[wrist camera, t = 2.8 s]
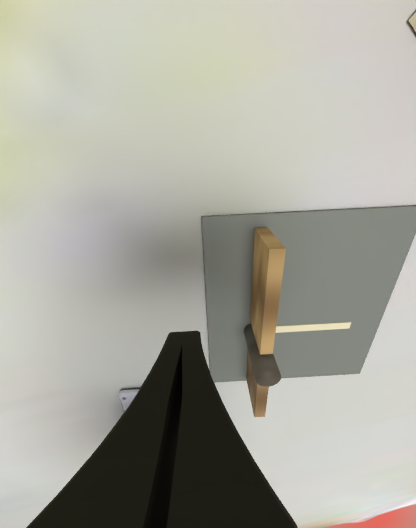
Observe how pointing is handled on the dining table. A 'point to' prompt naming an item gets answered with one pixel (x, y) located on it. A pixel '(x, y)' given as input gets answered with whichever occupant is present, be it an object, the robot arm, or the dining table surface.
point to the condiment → (413, 21)
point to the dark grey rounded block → (259, 373)
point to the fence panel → (266, 287)
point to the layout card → (305, 286)
